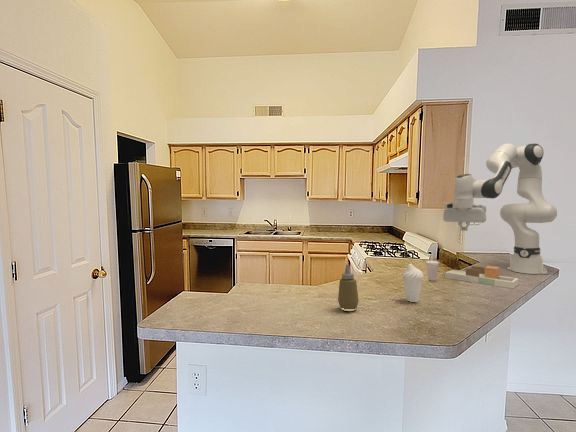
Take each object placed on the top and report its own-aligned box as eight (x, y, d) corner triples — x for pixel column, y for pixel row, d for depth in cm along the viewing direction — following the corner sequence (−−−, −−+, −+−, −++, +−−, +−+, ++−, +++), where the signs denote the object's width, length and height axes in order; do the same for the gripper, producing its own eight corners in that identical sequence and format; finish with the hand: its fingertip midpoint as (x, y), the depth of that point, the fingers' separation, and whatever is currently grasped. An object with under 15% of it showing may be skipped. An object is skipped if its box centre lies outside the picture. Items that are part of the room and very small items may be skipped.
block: (487, 275, 160) (487, 265, 160) (499, 277, 156) (499, 267, 156) (484, 277, 157) (484, 267, 156) (496, 278, 153) (496, 268, 153)
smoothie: (436, 278, 168) (436, 252, 167) (441, 281, 162) (441, 254, 161) (424, 278, 169) (424, 252, 168) (428, 281, 162) (428, 254, 162)
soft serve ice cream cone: (423, 299, 134) (423, 262, 133) (423, 305, 126) (422, 266, 126) (403, 297, 137) (402, 261, 137) (401, 303, 130) (400, 265, 129)
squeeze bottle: (359, 307, 126) (359, 263, 125) (357, 314, 118) (356, 267, 118) (339, 305, 129) (339, 262, 128) (336, 312, 121) (335, 266, 120)
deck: (452, 274, 176) (452, 263, 175) (518, 284, 153) (518, 271, 153) (445, 277, 169) (445, 266, 169) (513, 288, 146) (513, 275, 146)
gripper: (488, 204, 161) (488, 230, 162) (446, 204, 176) (446, 229, 177) (484, 204, 157) (484, 232, 157) (441, 205, 172) (442, 230, 173)
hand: (464, 230), depth 167 cm, fingers closed
